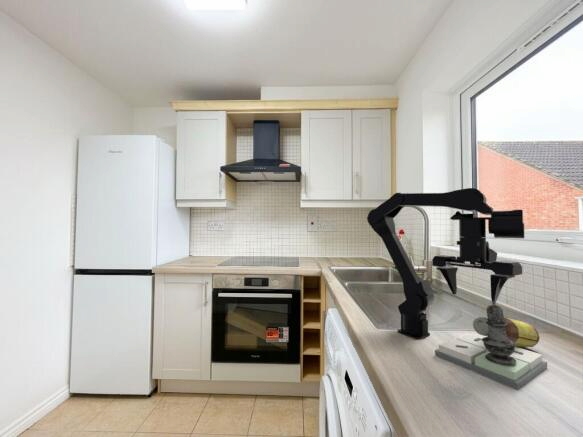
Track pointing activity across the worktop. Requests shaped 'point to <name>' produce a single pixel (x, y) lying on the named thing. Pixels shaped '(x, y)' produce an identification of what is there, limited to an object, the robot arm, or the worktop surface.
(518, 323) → the sauce bottle
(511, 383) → the keypad board
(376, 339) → the worktop surface
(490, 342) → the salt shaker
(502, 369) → the green key
